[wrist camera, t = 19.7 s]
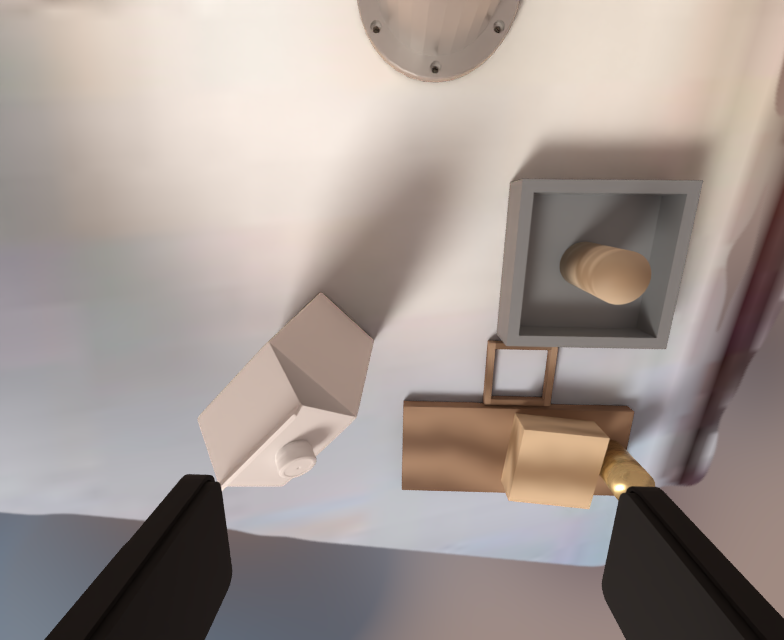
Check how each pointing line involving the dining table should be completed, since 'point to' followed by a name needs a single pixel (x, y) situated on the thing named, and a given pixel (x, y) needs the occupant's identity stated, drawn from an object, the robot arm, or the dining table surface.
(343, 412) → the milk carton
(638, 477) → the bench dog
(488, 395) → the socket ring
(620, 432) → the board
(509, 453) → the thick square wood block
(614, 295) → the dowel
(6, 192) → the dining table surface
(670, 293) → the tray
